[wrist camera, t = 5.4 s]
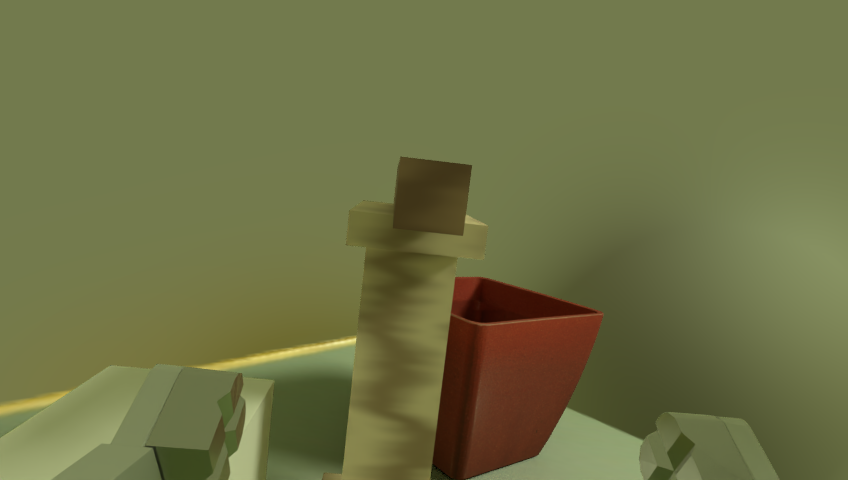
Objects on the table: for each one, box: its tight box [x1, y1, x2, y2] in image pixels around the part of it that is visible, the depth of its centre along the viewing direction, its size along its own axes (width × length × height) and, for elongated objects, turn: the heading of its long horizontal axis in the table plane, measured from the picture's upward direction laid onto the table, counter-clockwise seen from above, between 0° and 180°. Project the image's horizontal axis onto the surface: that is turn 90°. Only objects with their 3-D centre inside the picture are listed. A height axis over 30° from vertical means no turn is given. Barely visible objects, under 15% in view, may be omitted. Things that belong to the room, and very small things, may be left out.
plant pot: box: [432, 277, 603, 480], centre depth 59 cm, size 19×19×17 cm
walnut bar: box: [393, 157, 472, 236], centre depth 33 cm, size 3×22×3 cm, turn 3°
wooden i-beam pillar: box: [322, 200, 488, 480], centre depth 39 cm, size 10×14×26 cm
